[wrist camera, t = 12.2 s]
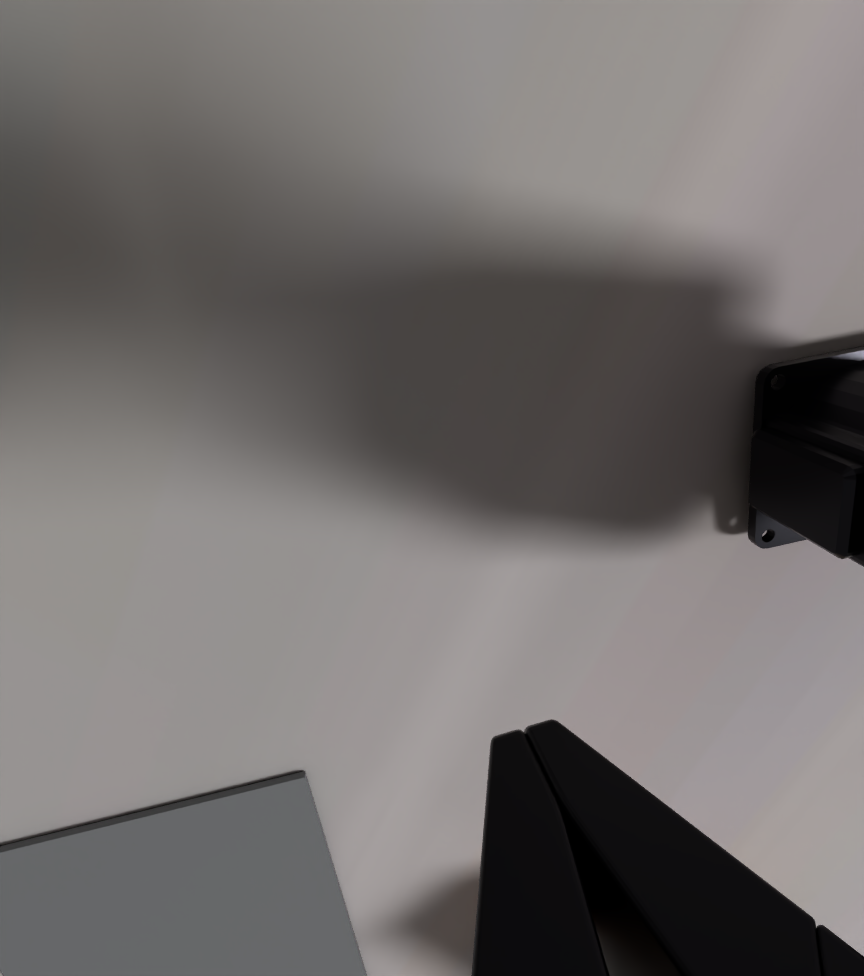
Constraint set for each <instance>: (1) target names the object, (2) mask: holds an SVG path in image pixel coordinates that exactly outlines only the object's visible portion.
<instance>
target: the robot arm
mask: <svg viewBox="0 0 864 976" xmlns="http://www.w3.org/2000/svg"><path fill="white" fill-rule="evenodd" d="M776 375H777V381H776V383H775V384H774V385H773V386H772V387H771V381H772V379H773V378H774V376H776ZM766 530H767V533H766V534H765V535H764V536H763V537H762V534H763V533H764V532H765V531H766ZM748 537H749V540H750V541H751V542H752V543H754V544H755V545H757V546H758V547H760V548H771V547H775V546H780V545H784V544H789V543H793V542H797V541H802V540H806V539H807V540H809V541H811V542H812V543H814V544H816V545H818V546H819V547H821V548H823V549H824V550H826V551H828V552H829V553H831V554H833V555H834V556H836V557H838V558H841V559H844V558H849V559H851V560H853V561H855V562H856V563H858V564H860V565H862V566H863V567H864V346H863V347H858V348H853V349H848V350H843V351H837V352H832V353H827V354H822V355H817V356H812V357H807V358H802V359H796V360H791V361H786V362H781V363H776V364H771V365H768V366H766V367H764V368H763V369H762V370H761V371H760V372H759V374H758V376H757V378H756V384H755V403H754V423H753V436H752V441H751V461H750V481H749V523H748ZM472 976H864V957H863V956H862V955H861V954H860V953H858V952H857V951H856V950H854V949H853V948H852V947H851V946H849V945H848V944H847V943H845V942H844V941H843V940H842V939H840V938H839V937H838V936H836V935H835V934H834V933H833V932H831V931H830V930H829V929H827V928H826V927H825V926H823V925H818V926H817V928H816V924H815V920H814V919H813V918H812V917H811V916H810V915H809V914H807V913H806V912H805V911H804V910H802V909H801V908H800V907H798V906H797V905H796V904H794V903H793V902H792V901H791V900H789V899H788V898H787V897H785V896H784V895H783V894H781V893H780V892H779V891H778V890H776V889H775V888H774V887H772V886H771V885H770V884H768V883H767V882H766V881H765V880H763V879H762V878H761V877H759V876H758V875H757V874H755V873H754V872H753V871H752V870H750V869H749V868H748V867H746V866H745V865H744V864H742V863H741V862H740V861H739V860H737V859H736V858H735V857H733V856H732V855H731V854H729V853H728V852H727V851H726V850H724V849H723V848H722V847H720V846H719V845H718V844H716V843H715V842H714V841H713V840H711V839H710V838H709V837H707V836H706V835H705V834H703V833H702V832H701V831H700V830H698V829H697V828H696V827H694V826H693V825H692V824H690V823H689V822H688V821H687V820H685V819H684V818H683V817H681V816H680V815H679V814H677V813H676V812H675V811H674V810H672V809H671V808H670V807H668V806H667V805H666V804H664V803H663V802H662V801H661V800H659V799H658V798H657V797H655V796H654V795H653V794H651V793H650V792H649V791H648V790H646V789H645V788H644V787H642V786H641V785H640V784H638V783H637V782H636V781H635V780H633V779H632V778H631V777H629V776H628V775H627V774H625V773H624V772H623V771H622V770H620V769H619V768H618V767H616V766H615V765H614V764H613V763H611V762H610V761H609V760H607V759H606V758H605V757H603V756H602V755H601V754H600V753H598V752H597V751H596V750H594V749H593V748H592V747H590V746H589V745H588V744H587V743H585V742H584V741H583V740H581V739H580V738H579V737H577V736H576V735H575V734H574V733H572V732H571V731H570V730H568V729H567V728H566V727H564V726H563V725H562V724H561V723H559V722H558V721H556V720H547V721H544V722H541V723H537V724H534V725H531V726H528V727H527V728H526V729H525V731H524V732H523V731H522V730H519V729H518V730H514V731H511V732H507V733H504V734H501V735H497V736H495V737H493V738H492V740H491V745H490V757H489V769H488V781H487V794H486V806H485V818H484V830H483V843H482V855H481V867H480V879H479V892H478V904H477V916H476V929H475V941H474V953H473V965H472Z"/></svg>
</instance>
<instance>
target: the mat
mask: <svg viewBox="0 0 864 976" xmlns="http://www.w3.org/2000/svg"><path fill="white" fill-rule="evenodd" d="M0 971H1V973H2V974H3V976H367V974H366V971H365V968H364V964H363V961H362V958H361V954H360V951H359V948H358V944H357V941H356V938H355V935H354V931H353V928H352V925H351V921H350V918H349V915H348V911H347V908H346V905H345V902H344V898H343V895H342V892H341V888H340V885H339V882H338V878H337V875H336V872H335V868H334V865H333V862H332V859H331V855H330V852H329V849H328V845H327V842H326V839H325V835H324V832H323V829H322V826H321V822H320V819H319V816H318V812H317V809H316V806H315V802H314V799H313V796H312V793H311V789H310V786H309V783H308V779H307V776H306V773H305V771H303V772H299V773H295V774H291V775H287V776H283V777H279V778H275V779H271V780H267V781H263V782H259V783H255V784H251V785H247V786H243V787H238V788H234V789H230V790H226V791H222V792H218V793H214V794H210V795H206V796H202V797H198V798H194V799H190V800H186V801H182V802H178V803H174V804H169V805H165V806H161V807H157V808H153V809H149V810H145V811H141V812H137V813H133V814H129V815H125V816H121V817H117V818H113V819H109V820H104V821H100V822H96V823H92V824H88V825H84V826H80V827H76V828H72V829H68V830H64V831H60V832H56V833H52V834H48V835H44V836H39V837H35V838H31V839H27V840H23V841H19V842H15V843H11V844H7V845H3V846H0Z"/></svg>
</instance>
